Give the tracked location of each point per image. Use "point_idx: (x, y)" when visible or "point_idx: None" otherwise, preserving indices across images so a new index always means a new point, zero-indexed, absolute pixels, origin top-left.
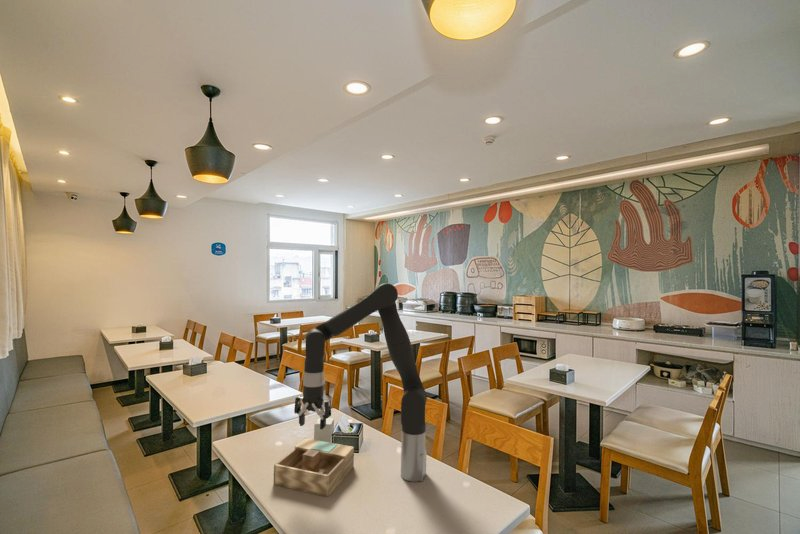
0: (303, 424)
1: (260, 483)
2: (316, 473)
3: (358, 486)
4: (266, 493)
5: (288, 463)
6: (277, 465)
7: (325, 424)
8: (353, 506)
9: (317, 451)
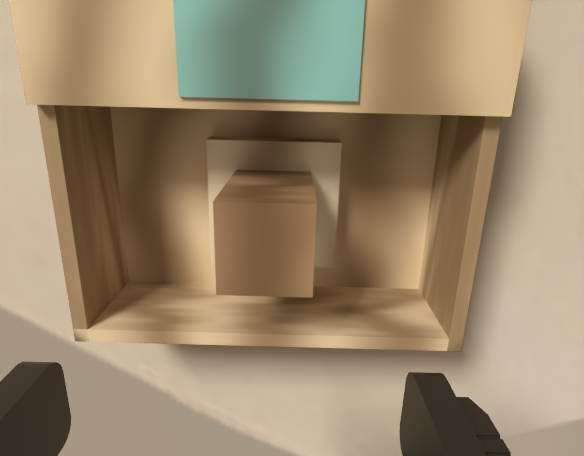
0: (60, 387)
1: (59, 296)
2: (378, 346)
3: (554, 169)
4: (144, 348)
5: (96, 195)
6: (99, 340)
7: (495, 443)
8: (563, 316)
9: (302, 218)
